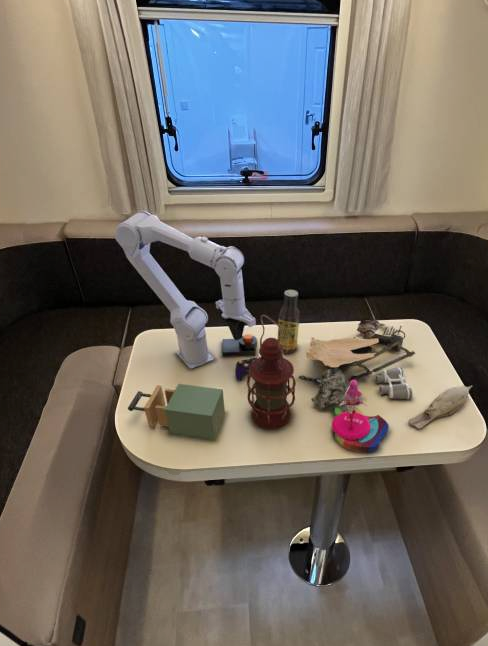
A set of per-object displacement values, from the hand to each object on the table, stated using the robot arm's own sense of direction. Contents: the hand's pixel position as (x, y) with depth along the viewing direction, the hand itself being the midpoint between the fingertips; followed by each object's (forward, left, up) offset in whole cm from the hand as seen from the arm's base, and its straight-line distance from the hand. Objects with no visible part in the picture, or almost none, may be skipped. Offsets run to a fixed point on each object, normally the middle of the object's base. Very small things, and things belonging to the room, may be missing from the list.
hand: (237, 338), depth 124 cm
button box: (-8, +4, -10) cm, 14 cm away
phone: (+15, +23, -10) cm, 29 cm away
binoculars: (+32, +31, -11) cm, 46 cm away
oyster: (+11, +45, -4) cm, 47 cm away
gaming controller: (+4, +1, -11) cm, 11 cm away
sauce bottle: (+1, +17, -11) cm, 20 cm away
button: (-6, +7, -7) cm, 12 cm away
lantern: (+22, -4, -11) cm, 25 cm away
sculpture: (+48, +36, -6) cm, 60 cm away
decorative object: (+46, +14, -9) cm, 49 cm away
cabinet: (+14, -21, -10) cm, 27 cm away
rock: (+23, +10, -10) cm, 27 cm away
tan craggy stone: (+18, +26, -5) cm, 32 cm away
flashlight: (+11, +45, -11) cm, 47 cm away
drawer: (+8, -27, -10) cm, 30 cm away
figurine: (+39, +9, -8) cm, 41 cm away
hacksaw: (+27, +34, -9) cm, 45 cm away
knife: (+21, +18, -10) cm, 29 cm away
